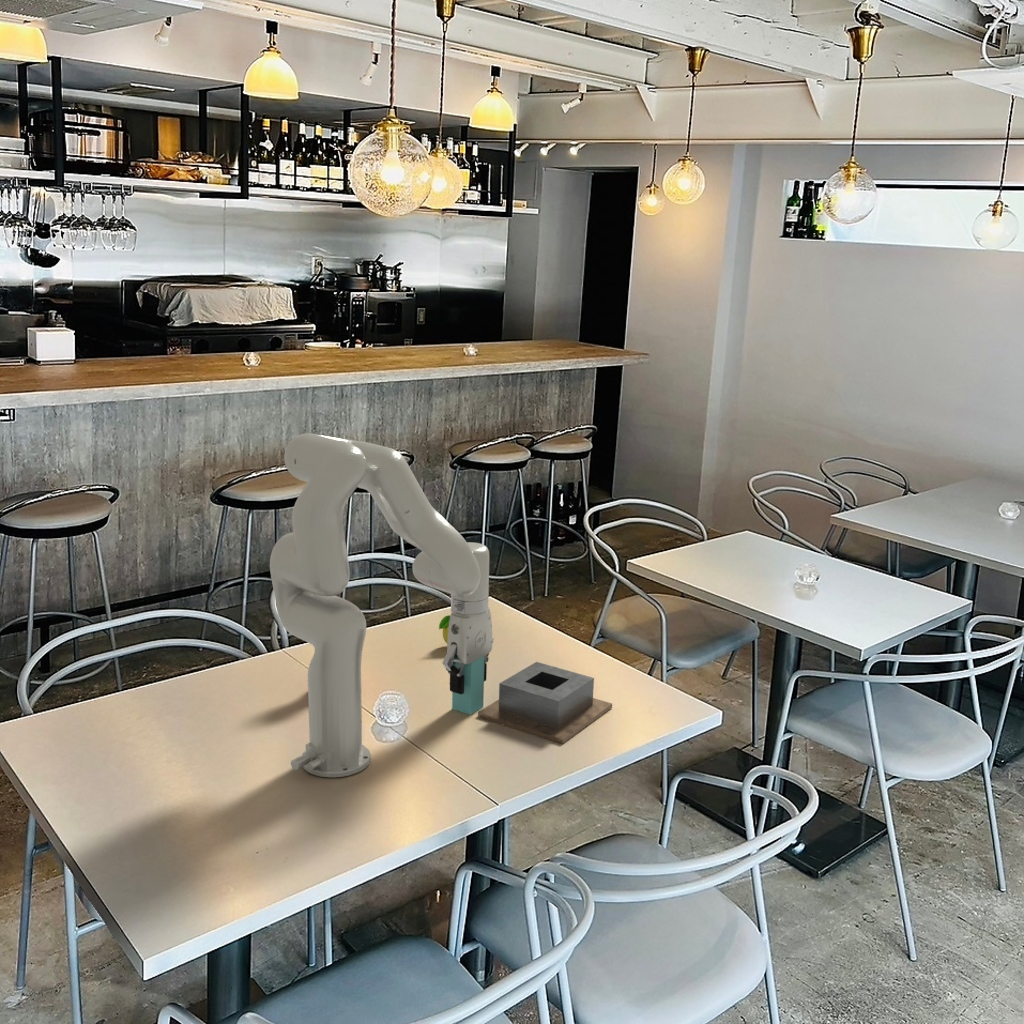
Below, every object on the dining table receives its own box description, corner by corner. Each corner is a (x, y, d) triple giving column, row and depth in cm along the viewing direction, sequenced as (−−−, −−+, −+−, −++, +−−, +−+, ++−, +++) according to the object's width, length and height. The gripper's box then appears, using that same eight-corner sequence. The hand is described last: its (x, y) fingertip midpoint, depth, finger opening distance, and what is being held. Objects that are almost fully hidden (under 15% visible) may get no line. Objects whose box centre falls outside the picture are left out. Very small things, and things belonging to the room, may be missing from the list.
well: (562, 744, 204) (564, 710, 203) (478, 716, 215) (478, 684, 213) (612, 708, 220) (613, 676, 219) (531, 684, 231) (532, 654, 229)
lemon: (470, 643, 253) (470, 603, 251) (466, 652, 247) (467, 612, 245) (442, 641, 254) (442, 602, 251) (438, 650, 248) (438, 610, 245)
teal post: (470, 714, 216) (471, 660, 213) (452, 709, 218) (452, 654, 215) (483, 707, 219) (484, 653, 216) (465, 701, 222) (466, 647, 219)
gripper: (458, 620, 204) (457, 705, 208) (509, 596, 218) (507, 676, 222) (428, 612, 208) (427, 695, 212) (479, 589, 222) (477, 668, 226)
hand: (468, 685), depth 217 cm, fingers open, 7 cm apart
